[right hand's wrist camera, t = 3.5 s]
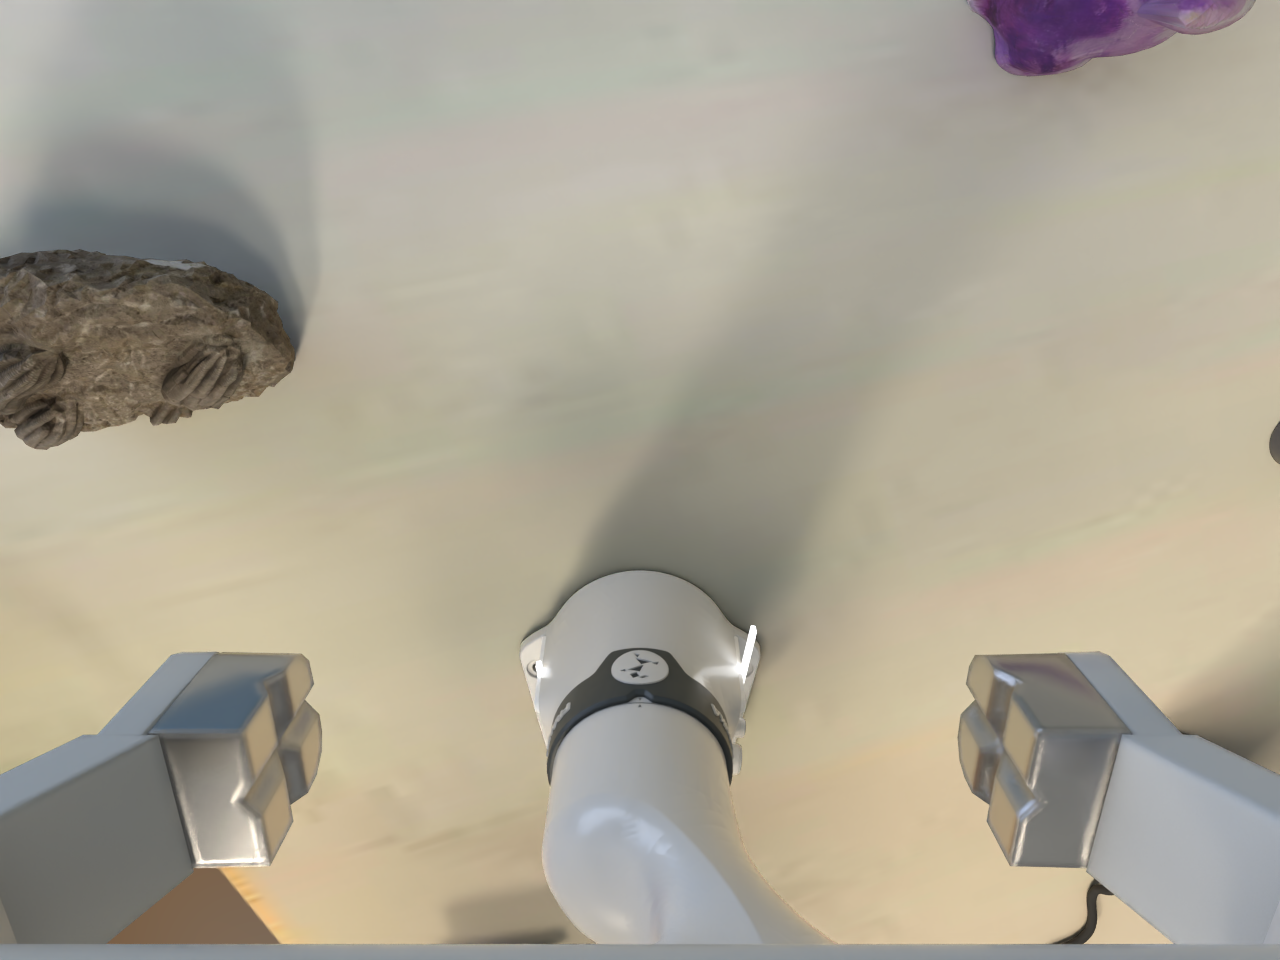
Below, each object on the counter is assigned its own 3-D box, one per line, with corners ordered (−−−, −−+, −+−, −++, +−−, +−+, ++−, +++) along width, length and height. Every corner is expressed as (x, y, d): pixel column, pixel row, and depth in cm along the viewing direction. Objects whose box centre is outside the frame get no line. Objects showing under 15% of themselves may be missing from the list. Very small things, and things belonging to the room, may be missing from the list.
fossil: (0, 494, 57) (-214, 357, 44) (23, 381, 61) (-164, 227, 48) (322, 425, 57) (207, 270, 44) (320, 318, 62) (215, 150, 49)
